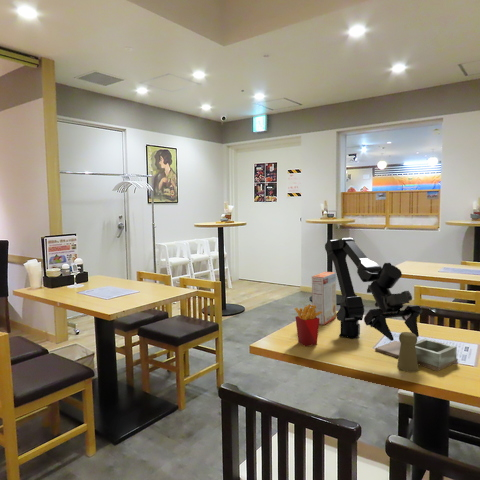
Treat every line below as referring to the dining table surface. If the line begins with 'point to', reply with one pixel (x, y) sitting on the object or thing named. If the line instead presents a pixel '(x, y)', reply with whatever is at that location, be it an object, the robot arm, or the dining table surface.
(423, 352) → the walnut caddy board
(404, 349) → the cork
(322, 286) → the cracker box
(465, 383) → the dining table surface
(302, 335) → the french fries
